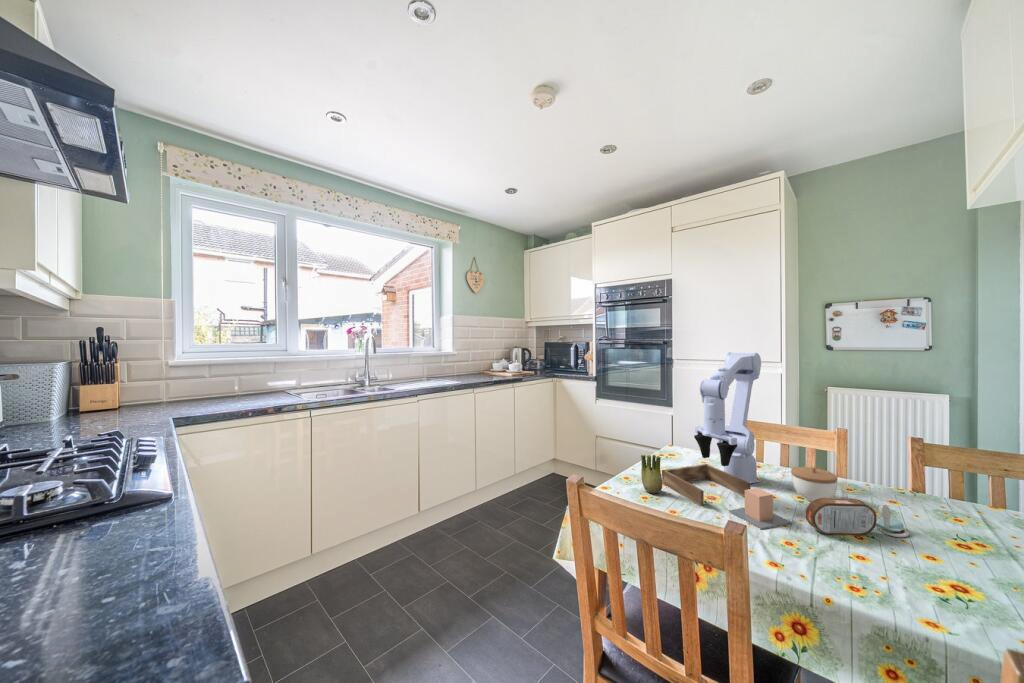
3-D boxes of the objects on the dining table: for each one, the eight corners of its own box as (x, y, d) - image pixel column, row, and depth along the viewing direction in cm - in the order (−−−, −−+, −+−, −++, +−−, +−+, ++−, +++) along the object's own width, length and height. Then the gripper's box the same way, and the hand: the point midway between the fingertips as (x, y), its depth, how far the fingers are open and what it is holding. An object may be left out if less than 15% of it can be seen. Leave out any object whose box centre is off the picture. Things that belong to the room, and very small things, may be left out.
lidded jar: (846, 502, 107) (846, 470, 107) (822, 509, 103) (822, 476, 103) (806, 488, 117) (805, 459, 117) (783, 494, 113) (782, 464, 113)
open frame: (706, 476, 129) (706, 464, 129) (750, 497, 112) (750, 483, 112) (662, 483, 124) (661, 470, 124) (700, 506, 107) (700, 491, 107)
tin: (868, 530, 92) (868, 497, 92) (880, 537, 89) (879, 503, 89) (804, 529, 94) (804, 496, 94) (813, 536, 91) (812, 502, 90)
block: (758, 510, 103) (757, 487, 103) (773, 518, 98) (772, 494, 98) (745, 513, 102) (744, 490, 102) (759, 521, 97) (759, 496, 97)
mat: (757, 506, 106) (757, 505, 106) (791, 523, 96) (791, 522, 96) (729, 511, 104) (729, 510, 104) (761, 529, 94) (761, 528, 94)
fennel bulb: (639, 490, 119) (639, 453, 119) (650, 486, 122) (649, 450, 122) (655, 496, 114) (654, 458, 114) (665, 493, 117) (664, 455, 117)
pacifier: (916, 535, 90) (884, 523, 95) (917, 510, 90) (885, 499, 95) (897, 541, 88) (866, 528, 93) (898, 516, 87) (867, 504, 93)
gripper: (686, 414, 120) (687, 455, 120) (722, 424, 106) (723, 471, 106) (704, 412, 122) (705, 453, 122) (742, 422, 108) (743, 468, 108)
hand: (715, 461), depth 114 cm, fingers open, 7 cm apart
